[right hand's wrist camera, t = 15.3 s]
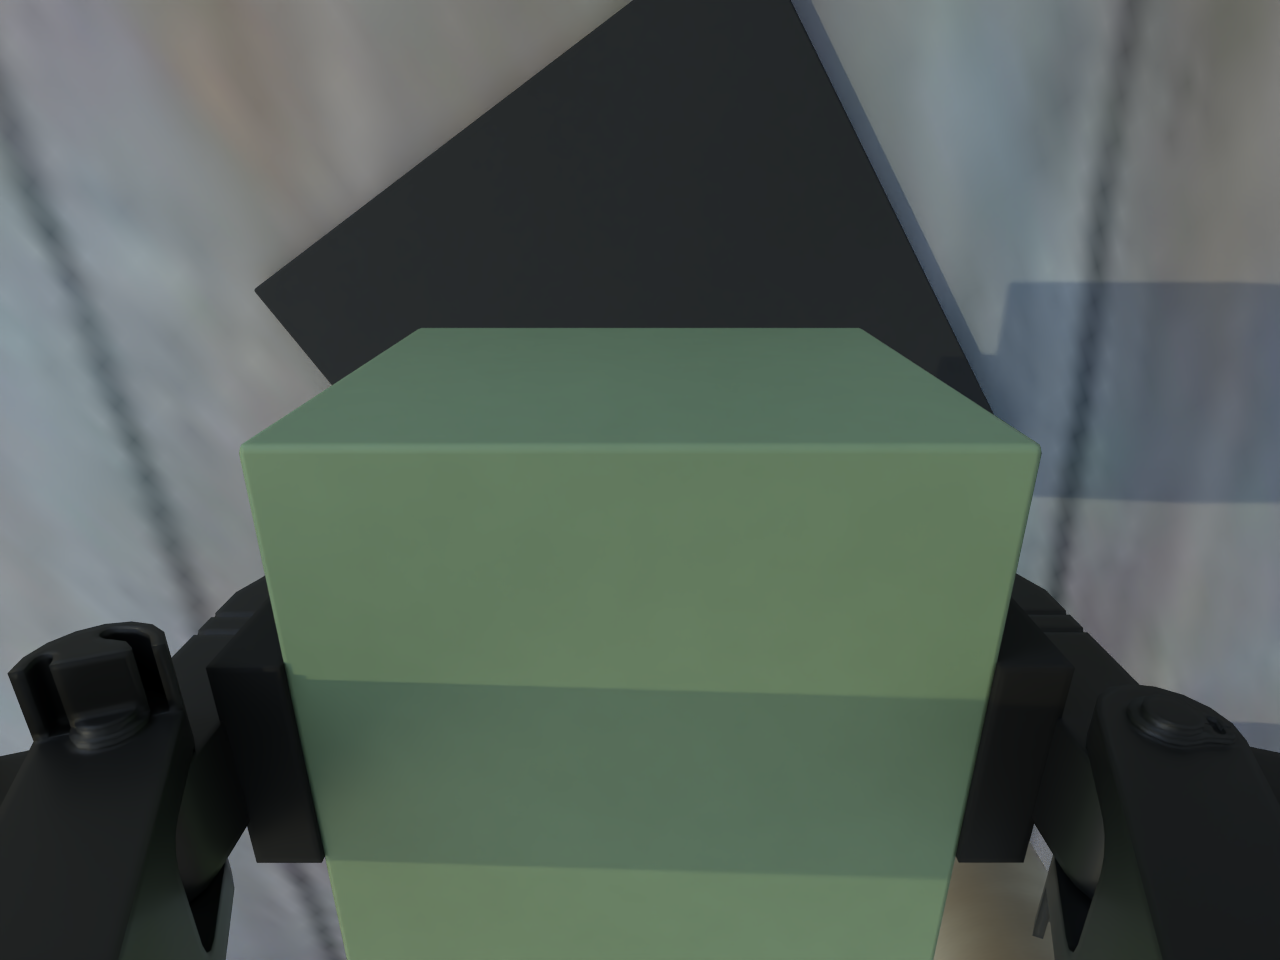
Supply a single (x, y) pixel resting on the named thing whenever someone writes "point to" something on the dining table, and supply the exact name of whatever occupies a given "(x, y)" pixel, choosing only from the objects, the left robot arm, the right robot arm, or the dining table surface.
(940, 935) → the caddy
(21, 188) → the dining table surface
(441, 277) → the slate mat
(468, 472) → the sage green cube
